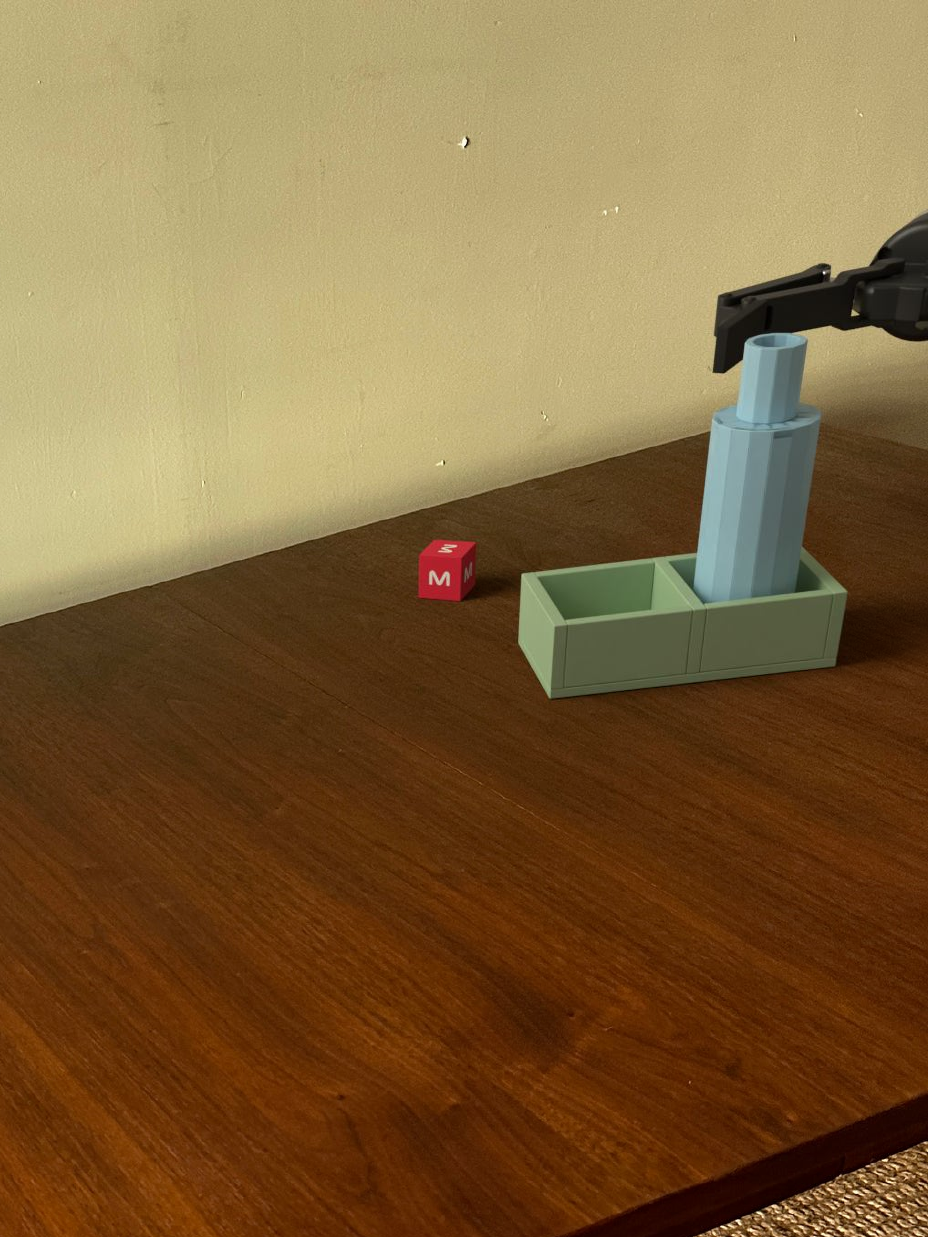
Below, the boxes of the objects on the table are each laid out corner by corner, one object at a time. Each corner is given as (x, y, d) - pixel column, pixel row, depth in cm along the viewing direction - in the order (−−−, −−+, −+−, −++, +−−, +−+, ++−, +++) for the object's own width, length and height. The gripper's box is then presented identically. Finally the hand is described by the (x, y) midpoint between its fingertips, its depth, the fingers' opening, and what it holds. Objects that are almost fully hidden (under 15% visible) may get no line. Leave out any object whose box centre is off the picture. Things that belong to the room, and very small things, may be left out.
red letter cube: (460, 601, 121) (461, 557, 119) (418, 598, 122) (419, 555, 120) (475, 585, 122) (476, 542, 121) (433, 582, 124) (434, 539, 122)
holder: (785, 612, 113) (796, 540, 110) (835, 666, 106) (848, 591, 103) (517, 643, 114) (521, 573, 111) (549, 699, 107) (554, 626, 104)
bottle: (770, 611, 111) (811, 321, 101) (801, 646, 107) (848, 347, 96) (677, 622, 112) (708, 334, 101) (704, 657, 107) (739, 360, 96)
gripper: (1133, 336, 114) (1042, 436, 102) (749, 320, 128) (628, 407, 116) (1164, 207, 110) (1073, 295, 98) (762, 205, 123) (638, 282, 111)
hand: (831, 356), depth 107 cm, fingers open, 13 cm apart
